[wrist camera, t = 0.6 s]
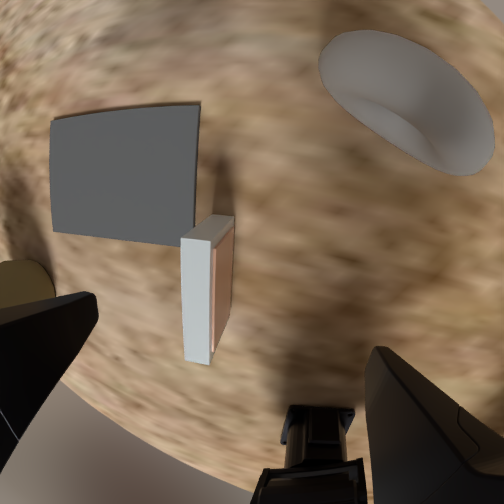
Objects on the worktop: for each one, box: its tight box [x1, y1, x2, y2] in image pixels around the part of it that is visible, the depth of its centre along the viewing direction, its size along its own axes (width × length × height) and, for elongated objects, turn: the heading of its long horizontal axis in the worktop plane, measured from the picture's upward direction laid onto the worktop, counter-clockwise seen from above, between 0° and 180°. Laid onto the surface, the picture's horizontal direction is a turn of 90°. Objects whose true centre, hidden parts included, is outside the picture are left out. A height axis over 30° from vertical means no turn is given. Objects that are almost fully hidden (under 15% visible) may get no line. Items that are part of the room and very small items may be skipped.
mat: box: [49, 105, 201, 247], centre depth 21 cm, size 10×14×1 cm
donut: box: [318, 30, 495, 176], centre depth 12 cm, size 10×4×10 cm, turn 61°
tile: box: [181, 214, 234, 365], centre depth 19 cm, size 8×2×6 cm, turn 176°
